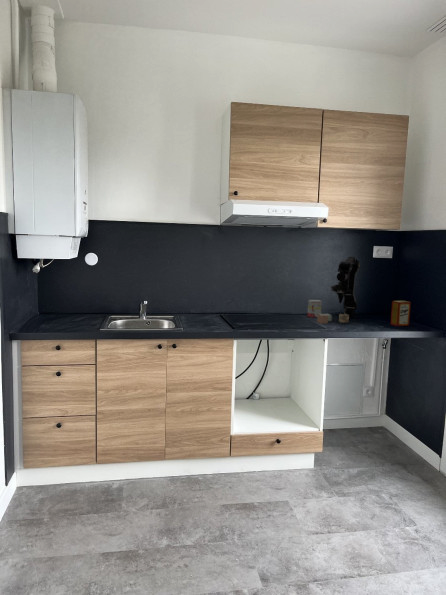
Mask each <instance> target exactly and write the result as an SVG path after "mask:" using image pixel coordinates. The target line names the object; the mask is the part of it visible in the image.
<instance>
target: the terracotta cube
mask: <svg viewBox="0 0 446 595" xmlns="http://www.w3.org/2000/svg"><path fill="white" fill-rule="evenodd" d="M316 318H317V319H316V323H318V324H328V323H329V321H328V316H327V315H317V317H316Z"/></svg>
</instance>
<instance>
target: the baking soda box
mask: <svg viewBox="0 0 446 595" xmlns="http://www.w3.org/2000/svg"><path fill="white" fill-rule="evenodd" d="M411 305H412V302H411V301H409V300H408V301H406V300H392V301H391V313H390V325H392V326H395V327H405V326H406V327H409V326H410V318H411V308H412V306H411Z"/></svg>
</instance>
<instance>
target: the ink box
mask: <svg viewBox="0 0 446 595" xmlns="http://www.w3.org/2000/svg"><path fill="white" fill-rule="evenodd" d="M322 305H323V301H322V300H320V299H308V304H307V317H308V318H317V315H319V314H322Z"/></svg>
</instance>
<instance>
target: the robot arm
mask: <svg viewBox="0 0 446 595" xmlns="http://www.w3.org/2000/svg"><path fill="white" fill-rule="evenodd" d="M338 264H339V265H338V268H337V272H338V273H337V274H336V279H337V280H338V283H336V284H334V285H332V286H330V288H331V292H334V293H335V294H336V295H337V298H338V302H339V304H342V303H343V309H344V311H343V314H347V315H349V319H355V318H356V316H355V314H356V310H358V303H357V299H356V297H355V287H356V277H357V276H356V275H357V274H358V273H359V269H360V267H361V264H360V260H358V259H357V257H355V256H347V259H345V260H343V261H340V262H339V263H338Z"/></svg>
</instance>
